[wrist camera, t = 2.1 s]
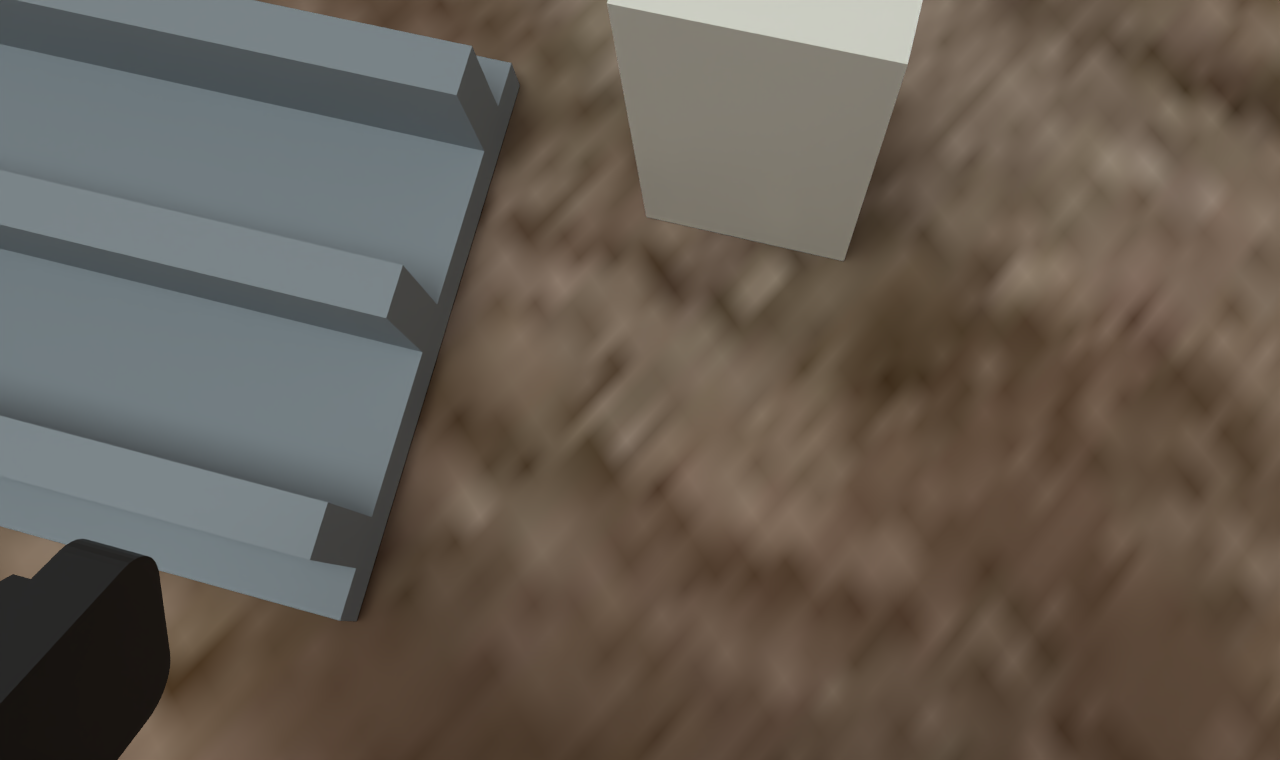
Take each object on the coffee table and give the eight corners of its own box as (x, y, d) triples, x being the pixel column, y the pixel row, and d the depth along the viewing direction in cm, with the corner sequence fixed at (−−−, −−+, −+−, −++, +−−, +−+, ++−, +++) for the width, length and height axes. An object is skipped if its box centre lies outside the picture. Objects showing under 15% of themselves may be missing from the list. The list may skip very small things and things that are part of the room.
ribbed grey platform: (519, 85, 30) (487, -2, 26) (356, 621, 27) (290, 618, 23) (-34, -33, 32) (-146, -132, 28) (-237, 456, 29) (-395, 427, 25)
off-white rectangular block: (861, 186, 29) (933, -46, 19) (843, 261, 28) (907, 64, 18) (666, 144, 29) (638, -103, 19) (646, 216, 29) (607, 3, 19)
